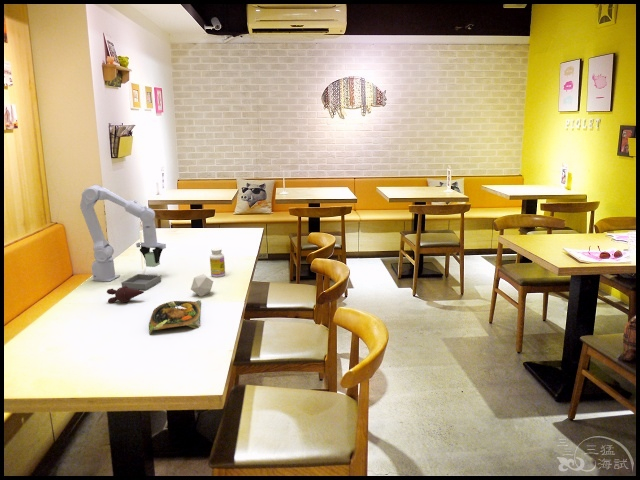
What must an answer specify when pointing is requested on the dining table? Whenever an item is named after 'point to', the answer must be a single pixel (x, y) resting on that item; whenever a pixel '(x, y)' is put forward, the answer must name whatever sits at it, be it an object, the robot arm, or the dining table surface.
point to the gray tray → (142, 281)
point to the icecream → (123, 294)
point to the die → (202, 285)
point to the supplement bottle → (217, 263)
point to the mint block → (151, 260)
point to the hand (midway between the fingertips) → (152, 262)
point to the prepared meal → (175, 315)
